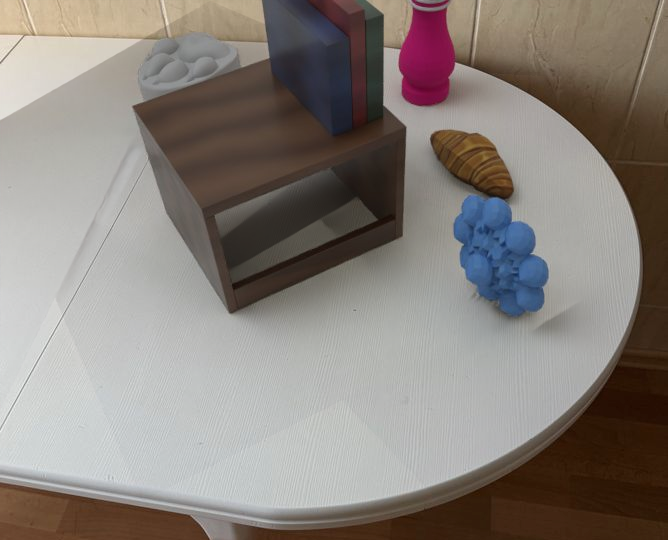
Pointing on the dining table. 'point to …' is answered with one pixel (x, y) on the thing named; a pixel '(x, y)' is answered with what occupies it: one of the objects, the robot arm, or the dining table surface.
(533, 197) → the dining table surface
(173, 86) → the lumpy-topped squat cylinder
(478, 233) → the grapes
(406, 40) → the pepper mill
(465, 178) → the croissant
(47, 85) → the dining table surface
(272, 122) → the bookshelf
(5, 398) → the dining table surface
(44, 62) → the dining table surface
